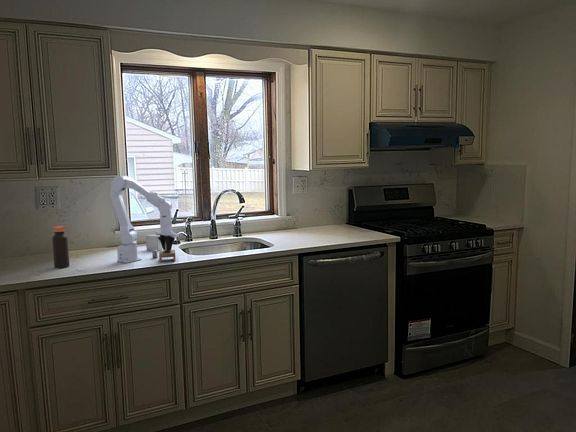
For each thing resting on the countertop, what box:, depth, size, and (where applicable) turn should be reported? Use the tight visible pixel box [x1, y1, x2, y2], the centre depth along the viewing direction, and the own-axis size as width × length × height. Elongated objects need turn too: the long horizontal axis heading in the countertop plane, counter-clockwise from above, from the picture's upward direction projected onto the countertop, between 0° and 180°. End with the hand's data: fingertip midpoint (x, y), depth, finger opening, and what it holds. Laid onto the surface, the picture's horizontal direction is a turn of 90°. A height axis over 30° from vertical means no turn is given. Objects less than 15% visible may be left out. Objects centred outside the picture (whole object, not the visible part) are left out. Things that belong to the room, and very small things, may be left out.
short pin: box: [151, 250, 159, 260], centre depth 250 cm, size 3×3×4 cm
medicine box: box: [145, 234, 163, 252], centre depth 272 cm, size 8×4×9 cm, turn 74°
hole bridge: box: [158, 249, 176, 263], centre depth 244 cm, size 9×8×4 cm
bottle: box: [51, 225, 70, 269], centre depth 231 cm, size 7×7×20 cm
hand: (167, 250), depth 244 cm, fingers open, 3 cm apart
